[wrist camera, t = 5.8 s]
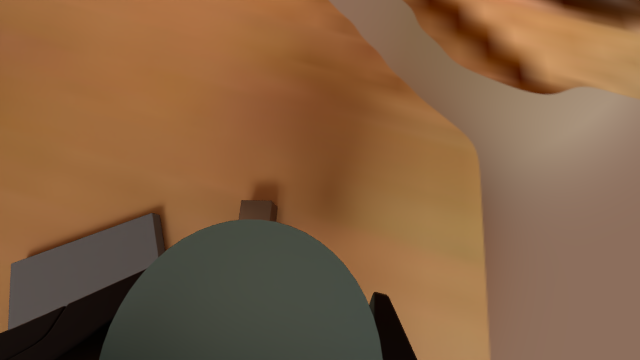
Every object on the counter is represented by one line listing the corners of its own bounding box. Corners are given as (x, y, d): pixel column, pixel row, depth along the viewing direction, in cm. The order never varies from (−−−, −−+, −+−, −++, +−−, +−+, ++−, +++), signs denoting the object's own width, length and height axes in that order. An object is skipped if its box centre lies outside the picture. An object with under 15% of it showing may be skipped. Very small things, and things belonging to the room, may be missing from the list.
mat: (182, 365, 19) (174, 369, 18) (20, 429, 19) (3, 438, 18) (159, 215, 23) (151, 212, 22) (24, 264, 23) (11, 263, 22)
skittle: (368, 327, 13) (445, 464, 4) (278, 375, 13) (119, 655, 3) (326, 237, 15) (309, 180, 6) (245, 276, 15) (76, 286, 5)
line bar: (256, 438, 18) (247, 458, 16) (220, 435, 18) (207, 455, 16) (277, 206, 23) (271, 200, 21) (249, 206, 23) (241, 200, 21)
